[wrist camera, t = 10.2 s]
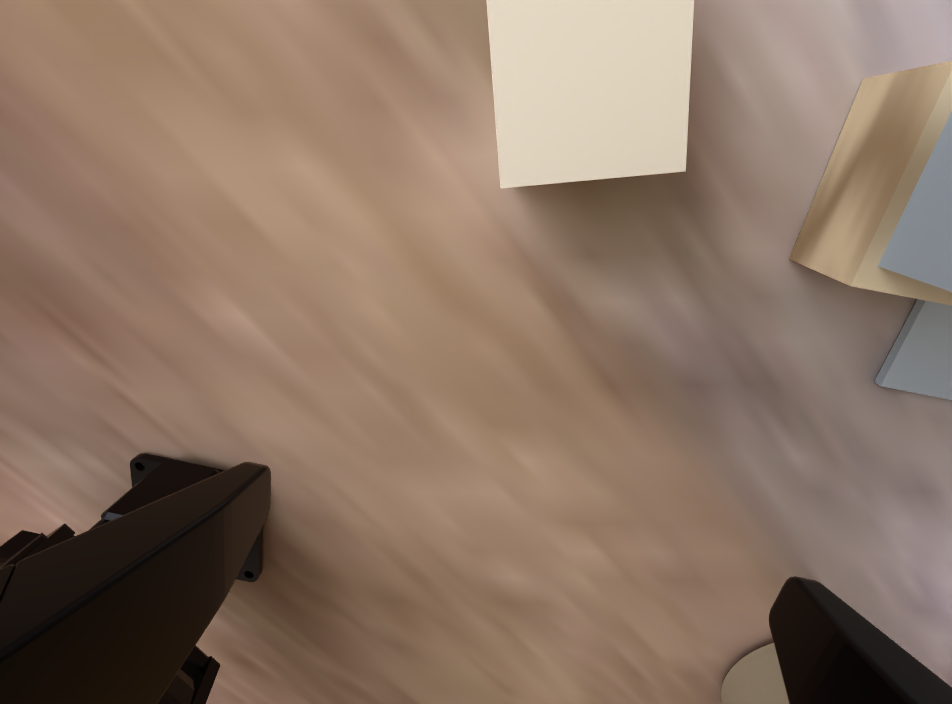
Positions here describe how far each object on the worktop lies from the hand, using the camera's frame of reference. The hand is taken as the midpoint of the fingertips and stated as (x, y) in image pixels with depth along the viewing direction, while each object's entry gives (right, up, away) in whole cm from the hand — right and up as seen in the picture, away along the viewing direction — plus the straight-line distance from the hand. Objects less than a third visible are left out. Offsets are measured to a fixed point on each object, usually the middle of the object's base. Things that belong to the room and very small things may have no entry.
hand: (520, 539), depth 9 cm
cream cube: (+3, +12, +9) cm, 15 cm away
